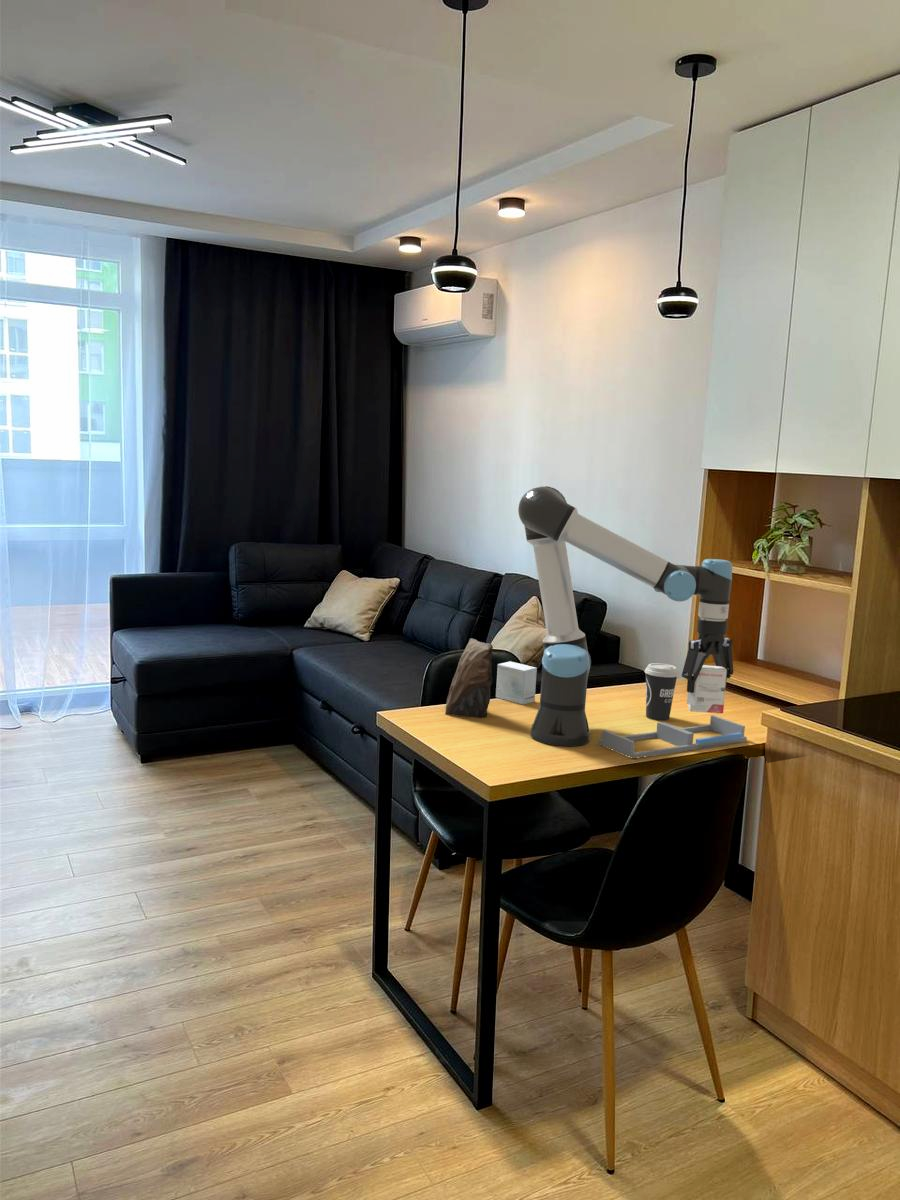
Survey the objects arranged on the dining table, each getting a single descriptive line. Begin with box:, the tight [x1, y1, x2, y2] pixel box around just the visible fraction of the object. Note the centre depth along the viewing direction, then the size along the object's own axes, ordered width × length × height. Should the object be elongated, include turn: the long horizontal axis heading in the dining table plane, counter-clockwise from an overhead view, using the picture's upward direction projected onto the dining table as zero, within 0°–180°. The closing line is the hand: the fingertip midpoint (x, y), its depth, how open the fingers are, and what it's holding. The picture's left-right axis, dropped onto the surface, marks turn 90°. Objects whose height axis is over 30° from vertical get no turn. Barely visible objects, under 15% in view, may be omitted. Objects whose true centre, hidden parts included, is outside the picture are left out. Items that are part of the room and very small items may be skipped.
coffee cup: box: [644, 662, 680, 722], centre depth 262 cm, size 10×10×15 cm
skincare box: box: [495, 660, 538, 705], centre depth 274 cm, size 10×6×10 cm, turn 48°
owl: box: [444, 637, 494, 719], centre depth 256 cm, size 13×13×20 cm
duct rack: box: [597, 714, 748, 759], centre depth 238 cm, size 40×13×4 cm, turn 121°
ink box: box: [687, 664, 727, 714], centre depth 242 cm, size 9×5×12 cm, turn 84°
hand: (705, 702), depth 243 cm, fingers closed on ink box, 9 cm apart
